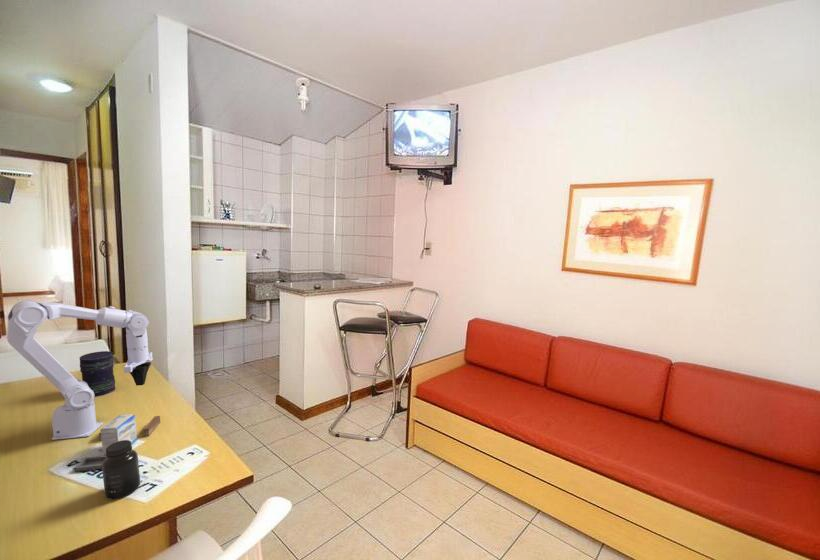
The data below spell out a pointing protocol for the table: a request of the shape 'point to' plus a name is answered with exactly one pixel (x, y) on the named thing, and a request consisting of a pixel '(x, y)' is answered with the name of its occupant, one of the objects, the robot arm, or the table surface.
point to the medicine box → (119, 431)
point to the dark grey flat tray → (90, 463)
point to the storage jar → (98, 372)
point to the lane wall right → (151, 426)
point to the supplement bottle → (120, 470)
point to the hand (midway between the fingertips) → (140, 384)
